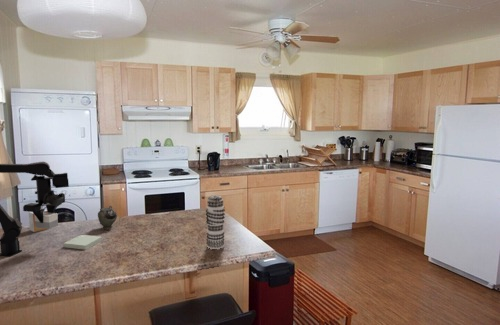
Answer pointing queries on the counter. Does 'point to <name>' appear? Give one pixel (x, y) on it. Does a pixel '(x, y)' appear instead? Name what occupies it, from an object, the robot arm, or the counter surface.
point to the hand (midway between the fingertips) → (46, 221)
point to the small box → (32, 222)
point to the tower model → (215, 222)
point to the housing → (47, 221)
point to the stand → (83, 242)
